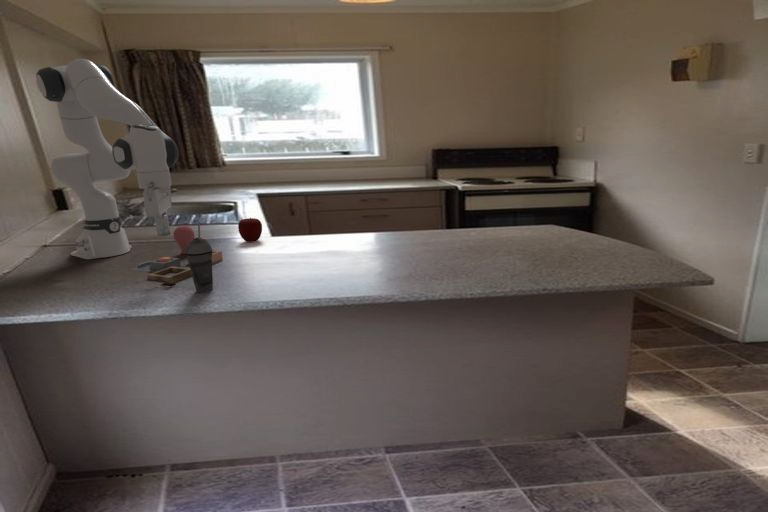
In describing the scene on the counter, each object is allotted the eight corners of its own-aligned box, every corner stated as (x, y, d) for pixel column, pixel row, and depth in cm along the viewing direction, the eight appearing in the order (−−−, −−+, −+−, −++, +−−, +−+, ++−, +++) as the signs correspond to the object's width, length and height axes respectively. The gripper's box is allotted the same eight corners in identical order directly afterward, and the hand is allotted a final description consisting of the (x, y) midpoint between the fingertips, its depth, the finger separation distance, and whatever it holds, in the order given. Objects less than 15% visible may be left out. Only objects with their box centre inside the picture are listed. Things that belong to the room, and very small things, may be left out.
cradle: (131, 273, 152) (129, 261, 151) (156, 265, 161) (154, 253, 160) (162, 277, 147) (159, 265, 146) (186, 268, 156) (184, 256, 154)
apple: (260, 243, 187) (257, 219, 184) (236, 244, 187) (233, 220, 184) (266, 238, 196) (263, 215, 193) (244, 239, 196) (241, 216, 193)
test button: (157, 266, 151) (155, 259, 150) (166, 263, 154) (164, 256, 154) (165, 267, 150) (163, 260, 149) (173, 264, 153) (172, 257, 152)
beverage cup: (195, 286, 137) (185, 221, 131) (220, 285, 137) (211, 219, 132) (187, 295, 130) (176, 226, 124) (214, 293, 130) (203, 224, 125)
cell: (155, 235, 139) (151, 213, 138) (166, 233, 142) (163, 212, 141) (161, 236, 137) (158, 214, 136) (172, 234, 140) (169, 212, 139)
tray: (148, 283, 141) (147, 274, 141) (173, 274, 150) (171, 266, 149) (170, 286, 138) (169, 277, 137) (194, 277, 146) (193, 268, 145)
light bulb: (190, 259, 167) (185, 227, 164) (173, 259, 168) (167, 227, 165) (201, 254, 174) (196, 223, 170) (184, 254, 175) (179, 223, 172)
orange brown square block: (188, 267, 156) (186, 255, 155) (205, 261, 164) (204, 249, 162) (206, 270, 153) (204, 257, 152) (223, 263, 160) (221, 251, 159)
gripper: (159, 183, 126) (167, 232, 130) (171, 177, 146) (178, 220, 149) (134, 185, 125) (143, 234, 129) (150, 178, 144) (157, 221, 148)
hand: (162, 226), depth 139 cm, fingers closed on cell, 4 cm apart
